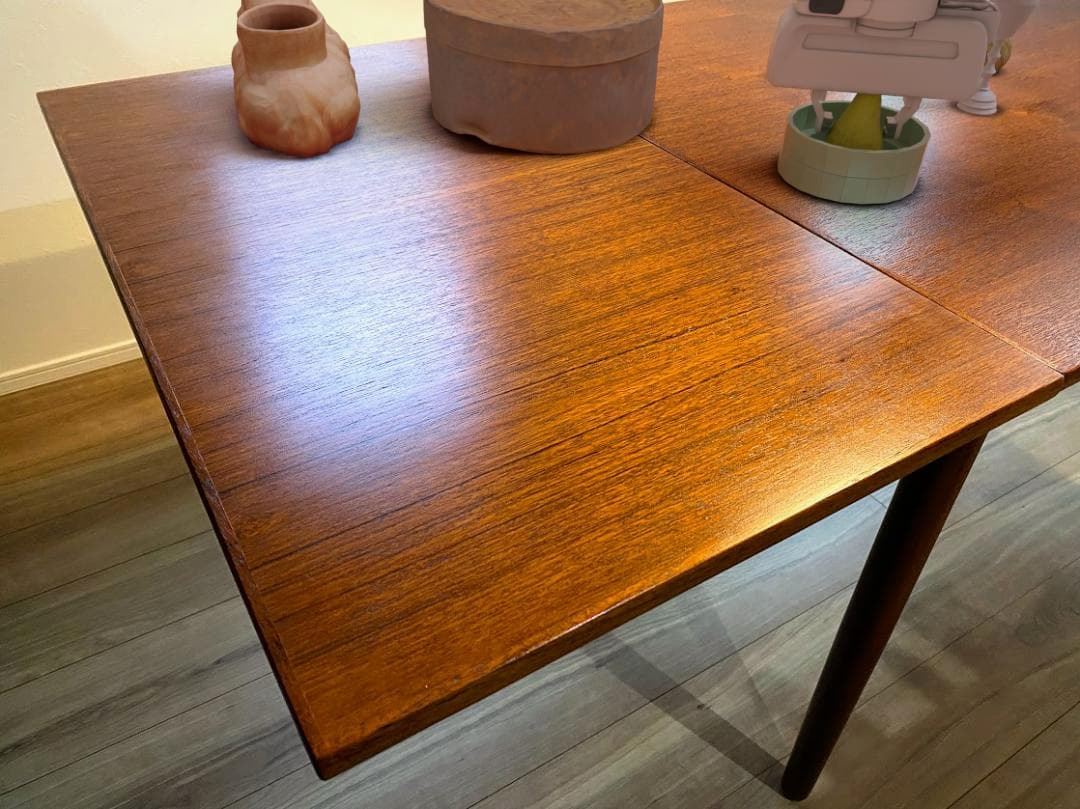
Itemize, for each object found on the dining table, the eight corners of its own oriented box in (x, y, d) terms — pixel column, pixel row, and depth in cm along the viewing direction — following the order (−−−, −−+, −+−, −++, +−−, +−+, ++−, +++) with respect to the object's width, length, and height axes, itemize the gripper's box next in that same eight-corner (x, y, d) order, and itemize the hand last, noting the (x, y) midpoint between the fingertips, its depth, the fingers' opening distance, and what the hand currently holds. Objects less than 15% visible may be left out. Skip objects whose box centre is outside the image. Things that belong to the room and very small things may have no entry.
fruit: (809, 174, 94) (833, 59, 86) (835, 158, 97) (861, 46, 90) (859, 191, 91) (889, 72, 83) (884, 173, 94) (915, 58, 87)
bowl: (904, 158, 99) (919, 105, 95) (922, 215, 88) (940, 158, 84) (775, 147, 101) (785, 95, 97) (777, 202, 90) (789, 145, 86)
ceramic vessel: (343, 78, 117) (327, -46, 107) (376, 156, 97) (360, 12, 88) (234, 88, 113) (209, -39, 104) (246, 170, 94) (216, 23, 85)
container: (475, 175, 93) (472, 25, 84) (398, 96, 113) (389, -32, 104) (699, 142, 103) (718, 4, 94) (592, 75, 122) (599, -44, 113)
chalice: (956, 95, 115) (1003, -57, 104) (1011, 107, 112) (1066, -49, 101) (940, 112, 110) (987, -46, 99) (996, 125, 107) (1052, -37, 96)
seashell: (951, 108, 123) (1000, 75, 116) (920, 68, 122) (967, 32, 115) (981, 78, 127) (1030, 44, 120) (951, 39, 127) (998, 3, 120)
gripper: (1000, -11, 84) (955, 131, 92) (780, -24, 86) (756, 115, 95) (1015, 7, 79) (966, 155, 87) (781, -8, 82) (756, 137, 90)
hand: (855, 134), depth 91 cm, fingers closed on fruit, 5 cm apart
